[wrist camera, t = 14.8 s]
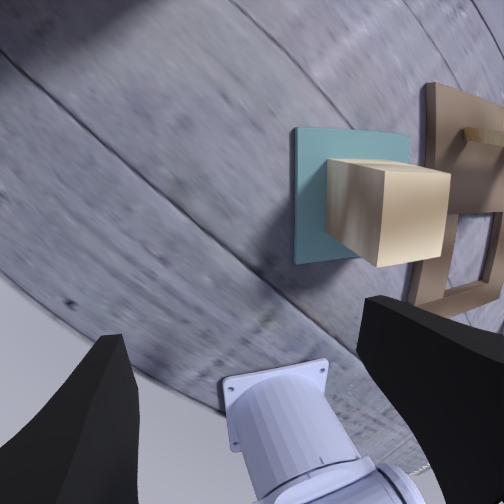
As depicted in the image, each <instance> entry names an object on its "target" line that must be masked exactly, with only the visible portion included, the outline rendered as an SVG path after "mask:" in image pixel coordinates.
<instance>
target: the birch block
mask: <svg viewBox="0 0 504 504" xmlns="http://www.w3.org/2000/svg"><path fill="white" fill-rule="evenodd" d="M450 180H451V174H449V173H445V172H441V171H437V170H433V169H429V168H424V167H420V166H415V165H411V164H406V163H401V162H396V161H391V160H378V159H335V158H327V199H326V225H325V233H327V234H328V235H330V236H331V237H333V238H334V239H336V240H337V241H339V242H340V243H342V244H343V245H345V246H346V247H348V248H349V249H350V250H352V251H353V252H355V253H356V254H358V255H359V256H361V257H362V258H363V259H365V260H366V261H368V262H369V263H370V264H372V265H373V266H375V267H376V268H378V267H384V266H390V265H396V264H401V263H407V262H413V261H419V260H424V259H430V258H435V257H440V256H441V250H442V244H443V238H444V232H445V225H446V218H447V210H448V201H449V191H450Z"/></svg>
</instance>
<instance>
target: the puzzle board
mask: <svg viewBox="0 0 504 504" xmlns="http://www.w3.org/2000/svg"><path fill="white" fill-rule="evenodd" d="M426 104H427V129H426V159H425V168H429V169H433V170H437V171H441V172H445V173H449V174H451V180H450V191H449V201H448V210H447V218H446V225H445V232H444V238H443V244H442V250H441V256H440V257H435V258H430V259H424V260H419V261H414V266H413V272H412V278H411V283H410V288H409V293H408V298H407V303H408V304H410V305H413V306H416V307H418V308H421V309H423V310H426V311H429V312H431V313H434V314H437V315H439V316H442V317H445V318H450V317H453V316H455V315H458V314H461V313H464V312H466V311H469V310H471V309H474V308H477V307H479V306H482V305H484V304H487V303H489V302H492V301H494V300H496V299H499V296H500V292H501V289H502V285H503V282H504V147H501V146H496V145H490V144H485V143H479V142H472V141H467V140H464V129H465V127H474V128H482V129H490V130H497V131H503V132H504V107H503V106H500V105H498V104H495V103H493V102H491V101H488V100H485V99H483V98H480V97H478V96H475V95H472V94H469V93H467V92H464V91H461V90H458V89H455V88H452V87H449V86H446V85H443V84H439V83H436V82H433V83H426ZM487 212H495V215H494V222H493V228H492V233H491V239H490V244H489V249H488V254H487V258H486V263H485V267H484V271H483V275H482V279H481V280H479V281H475V282H472V283H469V284H465V285H462V286H458V287H455V288H451V289H448V290H445V287H446V283H447V278H448V274H449V269H450V264H451V259H452V254H453V249H454V243H455V237H456V231H457V225H458V218H459V214H468V213H487Z"/></svg>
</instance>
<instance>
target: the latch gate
mask: <svg viewBox="0 0 504 504" xmlns="http://www.w3.org/2000/svg"><path fill="white" fill-rule="evenodd" d="M464 140H467V141H472V142H479V143H485V144H490V145H496V146H501V147H504V132H503V131H497V130H490V129H482V128H474V127H465V129H464Z"/></svg>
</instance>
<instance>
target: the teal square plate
mask: <svg viewBox="0 0 504 504" xmlns="http://www.w3.org/2000/svg"><path fill="white" fill-rule="evenodd" d="M409 141H410V135H402V134H393V133H383V132H373V131H361V130H347V129H330V128H304V127H295V227H294V263H295V264H296V265H298V264H306V263H313V262H321V261H329V260H336V259H344V258H351V257H359V255H358V254H356V253H355V252H353V251H352V250H350V249H349V248H348V247H346V246H345V245H343V244H342V243H340V242H339V241H337V240H336V239H334V238H333V237H331V236H330V235H328V234H327V233H325V225H326V199H327V158H335V159H378V160H391V161H396V162H401V163H406V164H409Z"/></svg>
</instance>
